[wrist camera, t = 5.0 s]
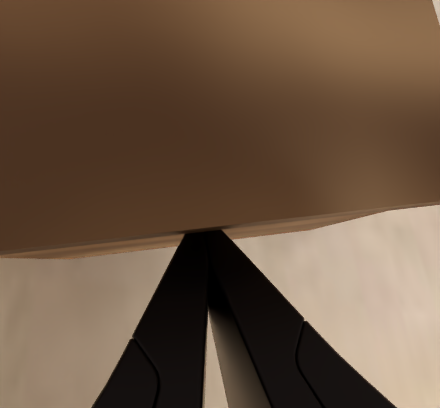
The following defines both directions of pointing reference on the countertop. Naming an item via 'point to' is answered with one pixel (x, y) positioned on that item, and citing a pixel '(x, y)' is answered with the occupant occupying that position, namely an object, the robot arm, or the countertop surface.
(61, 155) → the recipe box
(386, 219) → the countertop surface
